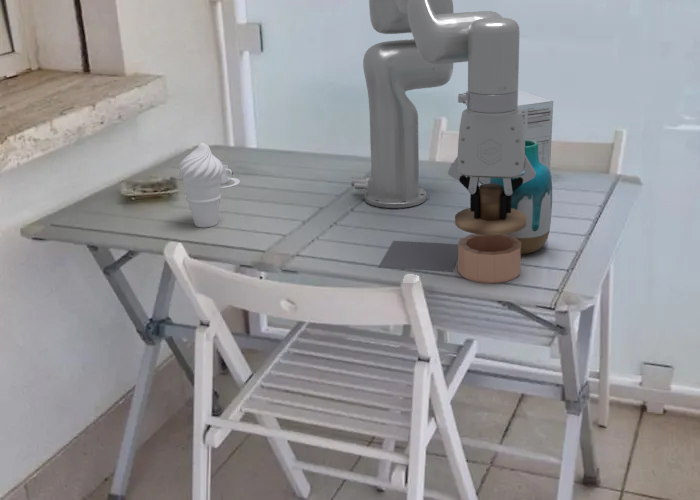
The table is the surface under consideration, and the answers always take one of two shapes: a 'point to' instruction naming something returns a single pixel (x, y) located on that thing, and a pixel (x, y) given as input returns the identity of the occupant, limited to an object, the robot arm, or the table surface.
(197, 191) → the soft serve ice cream cone
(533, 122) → the supplement box
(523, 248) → the vase
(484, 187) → the lid
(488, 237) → the bowl
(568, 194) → the table surface
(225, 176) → the teacup and saucer
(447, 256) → the mat
